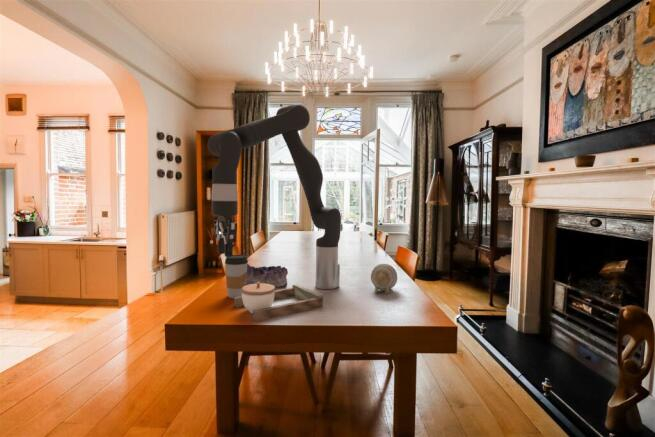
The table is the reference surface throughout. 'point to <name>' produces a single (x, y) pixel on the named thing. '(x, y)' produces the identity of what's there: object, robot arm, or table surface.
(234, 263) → the coffee cup
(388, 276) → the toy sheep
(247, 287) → the lidded jar
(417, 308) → the table surface
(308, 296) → the channel
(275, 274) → the geode
